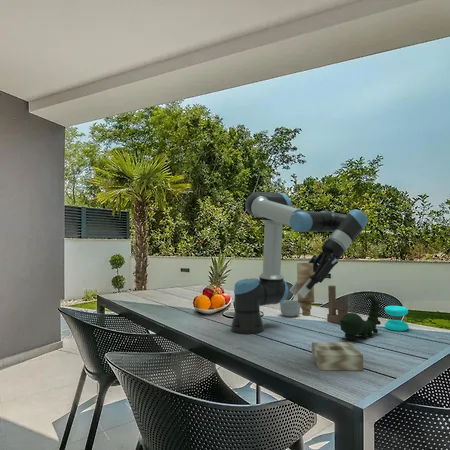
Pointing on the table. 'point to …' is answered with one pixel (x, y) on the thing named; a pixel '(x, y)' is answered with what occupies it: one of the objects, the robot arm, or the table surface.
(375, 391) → the table surface
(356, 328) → the toy figurine
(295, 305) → the teacup
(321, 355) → the birch socket block
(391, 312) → the cyan spool
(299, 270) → the oak peg
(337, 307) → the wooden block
